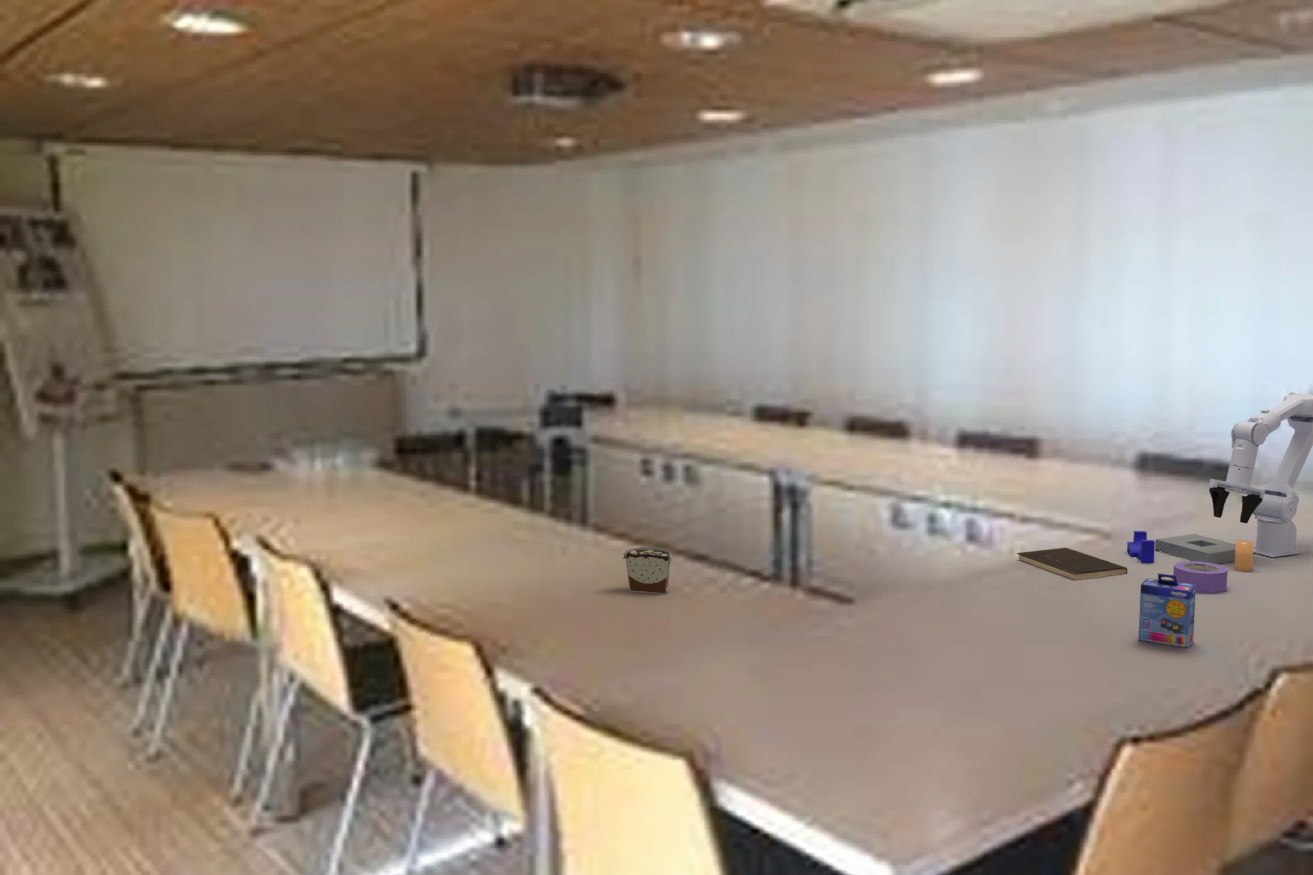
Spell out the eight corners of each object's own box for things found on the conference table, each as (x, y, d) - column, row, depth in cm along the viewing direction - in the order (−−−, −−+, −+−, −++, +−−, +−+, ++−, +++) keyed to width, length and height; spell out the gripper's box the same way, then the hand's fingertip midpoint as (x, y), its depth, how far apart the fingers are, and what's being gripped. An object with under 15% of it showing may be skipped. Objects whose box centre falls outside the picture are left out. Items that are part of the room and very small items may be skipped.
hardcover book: (1074, 582, 299) (1074, 573, 299) (1016, 561, 321) (1017, 552, 320) (1127, 576, 304) (1127, 567, 304) (1067, 555, 326) (1067, 547, 325)
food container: (680, 588, 298) (679, 548, 296) (672, 594, 292) (671, 553, 291) (632, 584, 302) (631, 545, 300) (623, 591, 296) (622, 550, 295)
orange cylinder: (1242, 566, 309) (1243, 539, 308) (1255, 570, 305) (1257, 543, 304) (1230, 568, 307) (1232, 541, 306) (1243, 572, 304) (1245, 544, 303)
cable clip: (1126, 552, 326) (1127, 530, 326) (1144, 553, 326) (1145, 531, 325) (1135, 563, 315) (1136, 541, 314) (1153, 564, 314) (1154, 541, 313)
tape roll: (1226, 583, 294) (1227, 563, 294) (1226, 596, 284) (1227, 575, 283) (1173, 579, 299) (1174, 559, 299) (1171, 590, 289) (1172, 570, 288)
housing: (1194, 544, 333) (1194, 533, 333) (1249, 559, 317) (1249, 547, 316) (1154, 550, 328) (1155, 539, 327) (1208, 565, 311) (1209, 553, 311)
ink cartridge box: (1136, 641, 252) (1139, 572, 250) (1143, 634, 256) (1146, 566, 254) (1188, 648, 246) (1191, 578, 244) (1194, 641, 251) (1197, 572, 249)
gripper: (1226, 463, 306) (1215, 516, 306) (1276, 474, 309) (1265, 527, 309) (1208, 461, 313) (1197, 513, 313) (1258, 472, 315) (1247, 524, 316)
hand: (1230, 520), depth 311 cm, fingers open, 7 cm apart
